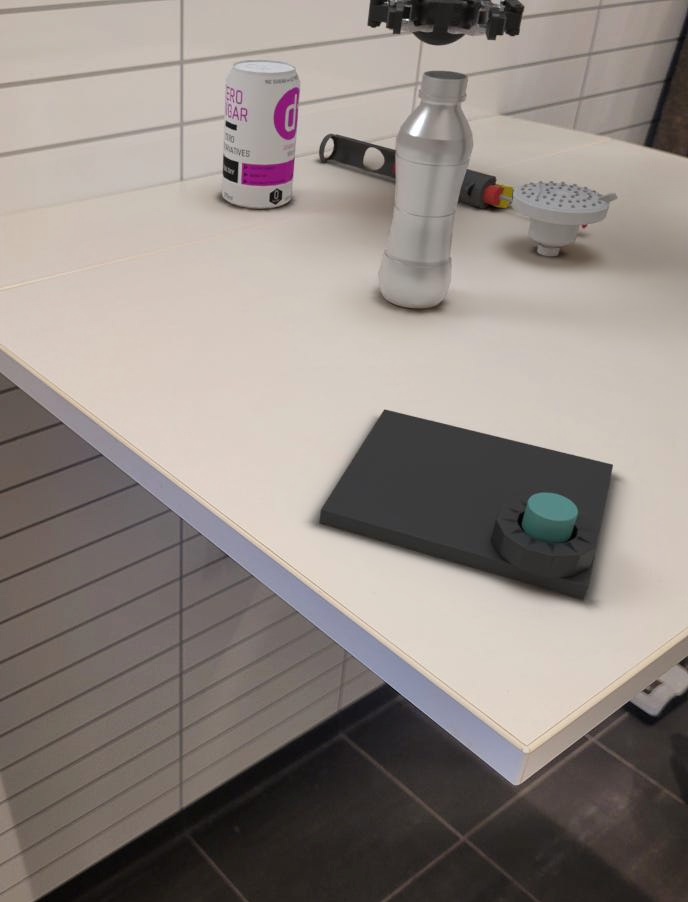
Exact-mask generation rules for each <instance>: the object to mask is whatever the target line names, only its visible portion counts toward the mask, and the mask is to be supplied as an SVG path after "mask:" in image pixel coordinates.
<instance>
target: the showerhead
mask: <svg viewBox="0 0 688 902" xmlns="http://www.w3.org/2000/svg"><path fill="white" fill-rule="evenodd" d="M514 189H515V190H514V192H513V197H512V202H511V207H512V209H513V210H514V211H516V213H519V214H520V215H522V216H524V217H526V218H529V219H530V221H529V225H528V231H527V235H528V236H529V238H530V239H531V240H533V241H534V242H536V243H538V245H537V249H536V252H537V253H538V254H540V255H542V256H545V257H556V256H558V255H559V253H560V249H561V247H564V246H569V245H571V244H573V243H575V241H576V240H577V236H578V232H579V229H580V226H582V225H587V224H588V225H593V224H597V223H599V222H600V223H601V222H602V221H604V220H605V219H606V218H607V214H608V211H609V208H610V205H611V203H612V202H614V201H615V200H618V197H619V196H618V194H616V192H612V193H611V192H610V193H607V194H604V195H603V194H602V193H600V192H598V191H597V190H595V189H589V188H588V186H584V187H583V186H578V184H577V183H573V184H568V183H566V182H565V181H561V183H558V182H554V181H552V180H550V181H548V182H543V181H541V180H540V181H538V182H529V183H525V184H522V185H520V186H517V187H516V188H514ZM588 225H587V226H588Z"/></svg>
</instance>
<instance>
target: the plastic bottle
mask: <svg viewBox="0 0 688 902" xmlns="http://www.w3.org/2000/svg"><path fill="white" fill-rule="evenodd" d="M468 81H469V76H468V75H467V74H465V73H461V72H458V71H450V70H427V71H424V72H423V74H422V78H421V82H420V89H419V90H418V95H417V97H418V98H419V99H420V102H419V104H418V106H416V108H415V109H414V110H413V111H412V112H411V113H410V114H409V115H408V116H407V117H406V119H405V120H404V122H403V123H402V124H401V126H400V127H399V130H398V132H397V135H396V137H395V148H394V150H396V153H395V155H396V178H395V188H394V189H395V190H394V198H393V199H394V203H393V214H392V219H391V224H390V228H389V232H388V239H387V243H386V247H385V249H384V252H383V254H382V257H381V261H380V264H379V269H378V273H377V275H378V288H379V291H380V292H381V295H382V297H383V298H384V299H385V300H386V301H388V302H389V303H391V304H393V305H396V306H399V307H402V308H409V309H430V308H433V307H436V306H438V305H440V303H441V302H442V301H443V300H444V299H445V298H446V296H447V294H448V292H449V289H450V286H451V283H452V269H453V268H452V267H453V266H452V256H451V255H452V254H451V253H452V242H453V229H454V221H455V215H456V211H457V210H456V207H458V198H459V194H460V189H461V186H462V183H463V180H464V176H465V173H466V170H467V169H468V167H469V164H470V160H471V157H472V154H473V149H474V137H473V131H472V129H471V126H470V123H469V120H468V118H467V117H466V115H465V112H464V111H463V109H462V103H465V102H466V99H467V87H468Z"/></svg>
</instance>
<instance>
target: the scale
mask: <svg viewBox="0 0 688 902" xmlns="http://www.w3.org/2000/svg"><path fill="white" fill-rule="evenodd" d="M613 467H614V464H612V463H608V462H604V461H600V460H596V459H591V458H589V457H588V458H587V457H583V456H579V455H575V454H571V453H567V452H563V451H559V450H555V449H550V448H546V447H542V446H537V445H533V444H530V443H525V442H522V441H518V440H513V439H509V438H505V437H502V436H501V437H500V436H497V435H492V434H489V433H484V432H480V431H476V430H473V429H472V430H471V429H469V428H463V427H460V426H455V425H451V424H446V423H443V422H439V421H435V420H430V419H426V418H422V417H418V416H414V415H410V414H405V413H401V412H398V411H394V410H390V409H384V408H383V410H382V412H381V414H380V415H379V417H378V418H377V420H376V422H375V423H374V425H373V426H372V428H371V430H370V431H369V433H368V434H367V436H366V438H365V439H364V440H363V442H362V443H361V445H360V447H359V448H358V449H357V452H356V453H355V455H354V457H353V458H352V460H351V461H350V463H349V464H348V466H347V467H346V468H345V471H344V472H343V473H342V475H341V477H340V479H339V480H338V481H337V484H336V485H334V486H335V487H334V488H333V490H332V491H331V493H330V494H329V496H328V498H327V499H326V501H324V504H323V505H322V507H321V508H320V513H319V521H318V523H319V524H321V525H325V526H327V527H331V528H334V529H339V530H341V531H346V532H349V533H352V534H355V535H359V536H361V537H366V538H369V539H372V540H375V541H379V542H383V543H387V544H390V545H394V546H397V547H400V548H404V549H407V550H411V551H415V552H418V553H421V554H424V555H426V556H427V555H428V556H431V557H434V558H437V559H441V560H445V561H447V562H452V563H455V564H458V565H461V566H462V565H463V566H465V567H470V568H473V569H475V570H479V571H482V572H486V573H490V574H493V575H496V576H500V577H504V578H507V579H510V580H514V581H517V582H521V583H523V584H528V585H531V586H534V587H538V588H541V589H544V590H548V591H552V592H554V593H559V594H561V595H565V596H569V597H572V598H575V599H579V600H583V601H585V599H586V596H587V593H588V590H589V587H590V581H591V577H592V572H593V567H594V562H595V556H596V552H597V548H598V542H599V539H600V538H599V537H600V532H601V527H602V522H603V517H604V513H605V508H606V504H607V497H608V493H609V488H610V483H611V477H612V474H613ZM537 493H554V494H558V495H561V496H563V497H566V498H567V499H569V500H571V501H572V502H573V503H574V504H575V505H576V507H577V509H578V515H577V518H576V521H575V524H574V528H573V531H572V534H571V537H570V539H569V540H567V541H566V542H564V543H548V542H545V541H541V540H537V539H534V538H532V537H531V536H529V535H528V534H526V533H525V532H524V530H523V528H522V521H523V517H524V513H525V510H526V506H527V502H528V499H529V498H530V497H531V496H532V495H534V494H537Z"/></svg>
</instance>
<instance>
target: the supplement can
mask: <svg viewBox="0 0 688 902" xmlns="http://www.w3.org/2000/svg"><path fill="white" fill-rule="evenodd" d="M299 77H300V76H299V75H298V72H297V69H296V66H295V65H294V64H293V63H289V62H286V61H282V60H281V61H280V60H273V59H245V60H239V61H236V62H233V63H232V64H231V69H230V70H229V72H228V74H227V76H226V78H225V88H224V89H225V91H224V93H225V94H224V98H225V99H224V122H223V148H222V149H223V150H222V153H223V155H222V177H221V178H222V183H221V195H222V198H223V199H224V200H226V201H227V202H228V203H229V204H231V205H234V206H237V207H240V208H247V209H256V210H258V209H259V210H265V209H274V208H279V207H281V206H283V205H285V204H287V203H289V202H290V201H291V199H292V197H293V188H294V173H295V160H296V148H297V147H296V146H297V132H298V121H299V107H300V94H301V80H300V78H299Z"/></svg>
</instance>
